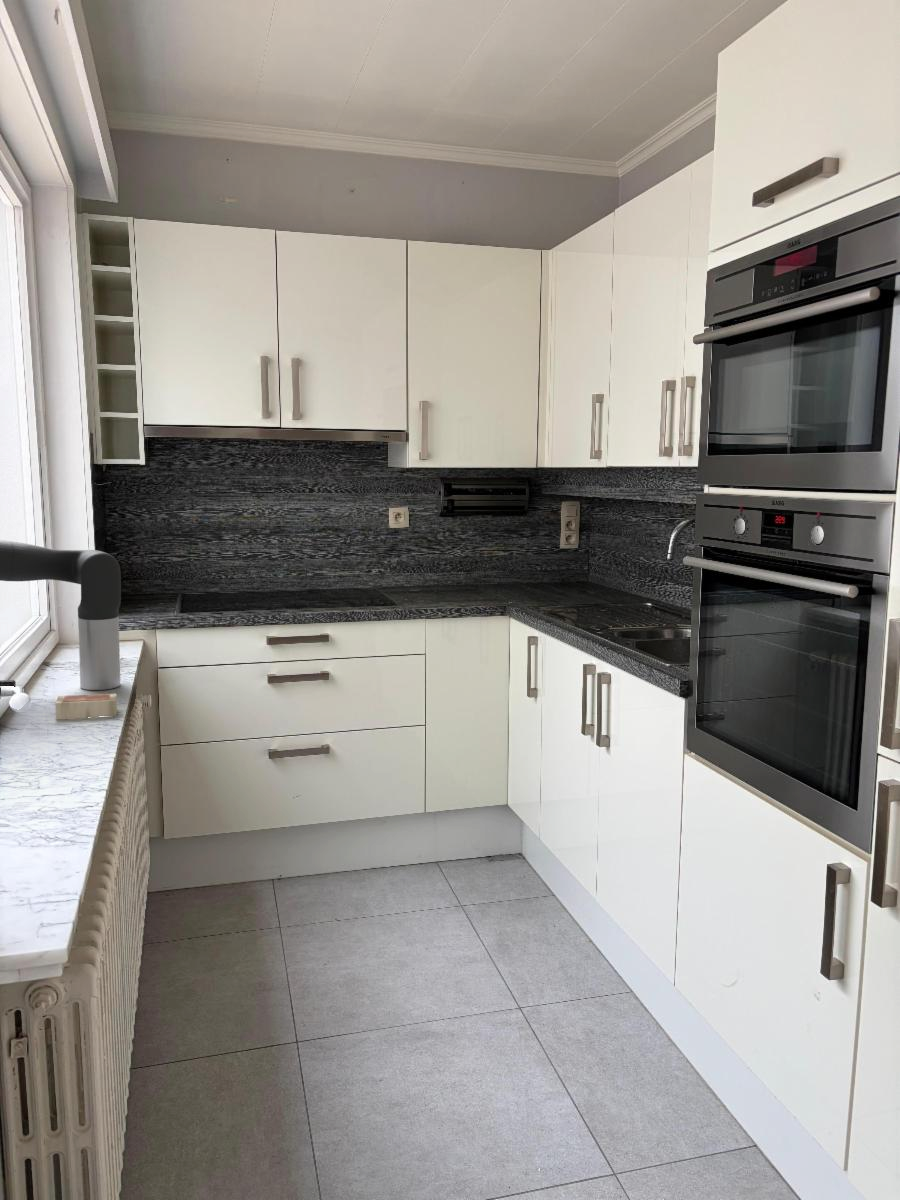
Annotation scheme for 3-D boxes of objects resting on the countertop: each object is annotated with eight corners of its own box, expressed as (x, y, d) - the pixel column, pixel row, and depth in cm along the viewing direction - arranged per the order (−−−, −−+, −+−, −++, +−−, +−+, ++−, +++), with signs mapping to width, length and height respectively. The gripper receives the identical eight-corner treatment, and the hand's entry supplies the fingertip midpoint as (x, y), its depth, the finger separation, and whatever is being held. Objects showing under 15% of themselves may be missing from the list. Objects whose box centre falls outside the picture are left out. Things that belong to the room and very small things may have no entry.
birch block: (58, 695, 201) (116, 692, 205) (59, 714, 202) (117, 711, 205) (55, 702, 196) (115, 699, 199) (56, 721, 196) (115, 718, 200)
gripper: (-86, 677, 184) (8, 675, 189) (-69, 663, 197) (20, 662, 202) (-85, 714, 185) (9, 711, 190) (-67, 698, 198) (21, 695, 203)
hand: (14, 685), depth 196 cm, fingers closed
